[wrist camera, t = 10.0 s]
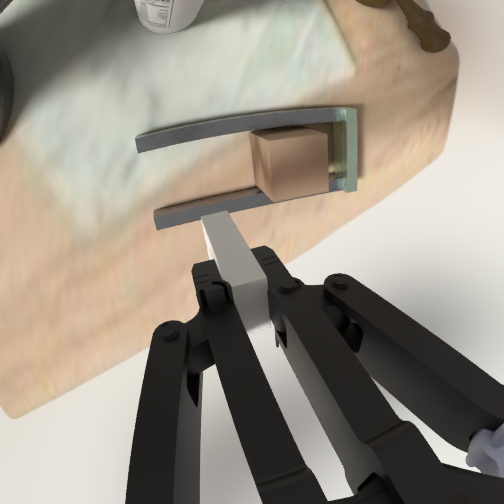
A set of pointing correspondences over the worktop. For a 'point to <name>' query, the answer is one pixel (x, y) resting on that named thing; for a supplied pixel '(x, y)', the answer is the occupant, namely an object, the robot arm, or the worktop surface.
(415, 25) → the kendama
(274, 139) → the chute block
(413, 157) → the worktop surface
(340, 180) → the chute
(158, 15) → the energy drink can
